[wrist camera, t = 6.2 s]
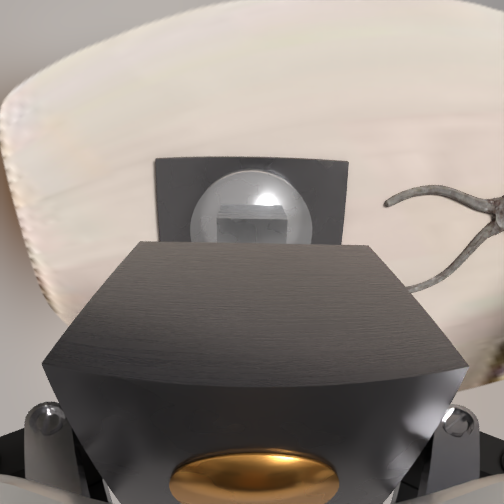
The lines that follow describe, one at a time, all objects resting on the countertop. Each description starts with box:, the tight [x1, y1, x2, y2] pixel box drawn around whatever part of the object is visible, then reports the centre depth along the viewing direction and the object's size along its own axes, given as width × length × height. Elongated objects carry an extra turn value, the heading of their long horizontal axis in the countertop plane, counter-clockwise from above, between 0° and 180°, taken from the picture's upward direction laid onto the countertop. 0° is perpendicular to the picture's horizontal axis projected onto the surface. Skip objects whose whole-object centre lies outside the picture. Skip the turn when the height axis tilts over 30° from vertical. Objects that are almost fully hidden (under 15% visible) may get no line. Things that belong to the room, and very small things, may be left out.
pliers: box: [385, 185, 504, 293], centre depth 24 cm, size 10×1×20 cm
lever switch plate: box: [156, 157, 349, 245], centre depth 24 cm, size 14×20×6 cm
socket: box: [42, 241, 469, 504], centre depth 8 cm, size 7×7×6 cm
